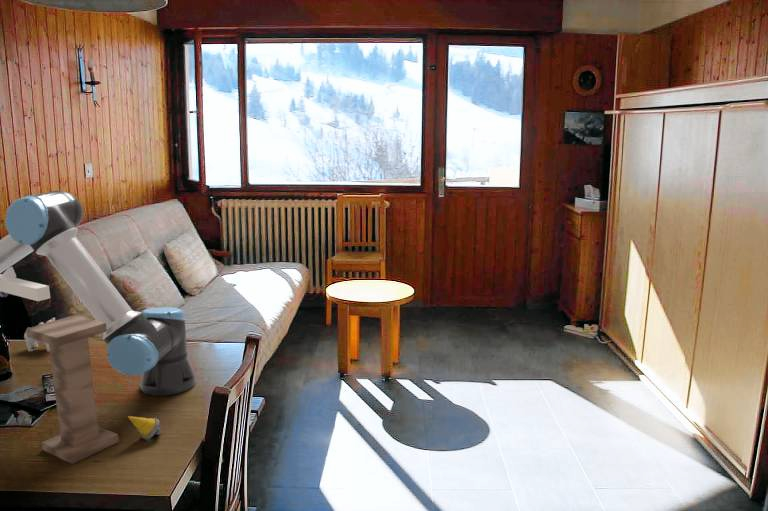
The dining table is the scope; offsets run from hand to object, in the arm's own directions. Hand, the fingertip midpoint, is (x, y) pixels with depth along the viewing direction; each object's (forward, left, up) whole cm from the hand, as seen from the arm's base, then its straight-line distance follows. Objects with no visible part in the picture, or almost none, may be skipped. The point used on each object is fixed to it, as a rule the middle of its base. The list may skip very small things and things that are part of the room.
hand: (5, 273), depth 163 cm
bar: (-2, +4, -4) cm, 6 cm away
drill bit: (-29, +22, -39) cm, 54 cm away
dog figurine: (0, -58, -39) cm, 70 cm away
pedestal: (-14, +20, -39) cm, 46 cm away
